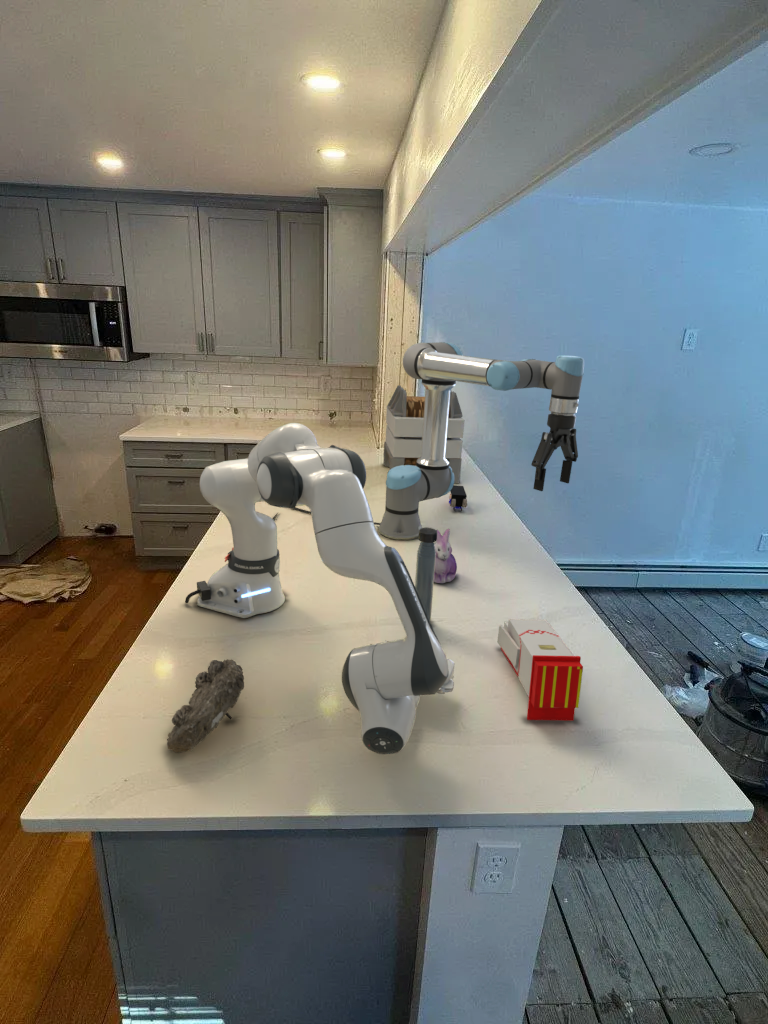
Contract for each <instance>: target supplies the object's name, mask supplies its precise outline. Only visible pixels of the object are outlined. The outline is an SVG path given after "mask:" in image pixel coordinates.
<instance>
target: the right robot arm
mask: <svg viewBox="0 0 768 1024" xmlns="http://www.w3.org/2000/svg"><path fill="white" fill-rule="evenodd" d="M402 366H403V369H404V372H405V373H406V374H407V375H408V376H409V377H410V378H412V379H415V380H421V385H422V386H423V387H424V389H425V392H424V397H425V405H424V420H423V436H422V451H421V457H420V458H419V459H417V462H416V466H413V465H401V466H396V467H394V468H392V469H390V468H389V470H388V472H387V474H386V479H385V504H384V505H385V507H384V508H385V509H384V513H383V515H382V519H381V522H375V521H374V526H375V525H376V526H378V533H379V534H380V535H381V536H382V537H385V538H387V539H389V540H395V541H410V540H415V539H419V538H418V537H419V530H420V529H421V528H423V525H422V524H421V518H420V515H419V507H420V506H419V505H420V502H423V501H428V500H432V499H437V498H439V499H440V498H441V497H443V496H446V495H448V494H450V493H451V492H450V491H451V489H452V487H453V485H455V483H454V473H452V469H451V467H450V466H449V462H448V460H447V459H446V458H445V454H446V442H447V430H448V417H449V405H450V392H451V391H452V389H453V388H454V387H455V386H456V385H457V382H460V383H465V384H472V385H479V386H485V387H491V389H493V390H495V391H503V392H505V391H510V390H520V389H532V388H533V389H534V388H537V389H545V390H549V391H550V390H551V391H550V392H551V393H550V399H549V407H548V411H549V413H548V414H547V420H546V425H547V427H549V428H550V429H549V432H547V431H543V432H542V433H541V438H540V442H539V444H538V446H537V449H536V451H535V454H534V457H533V460H532V461H531V466H532V467H534V468H535V471H534V472H535V473H534V481H533V488H532V489H533V490H536V491H539V492H544V486H545V481H546V473H547V468H546V466H547V465H548V463H549V460H550V459H551V457H552V455H553V453H554V452H555V451H556V450H557V449H558V448H560V449H561V452H562V455H563V457H564V459H562V465H561V470H560V478H559V482H561V483H564V484H570V481H571V474H572V467H573V462H574V463H576V462H577V461H578V458H579V451H578V444H577V428H575V427H576V422H577V421H576V420H577V416H576V414H577V412H578V408H579V405H580V404H579V402H580V401H579V399H580V393H581V388H582V383H583V377H584V370H585V369H584V368H585V359H584V358H583V357H582V356H577V355H576V356H575V355H558V356H556V359H555V361H548V360H541V359H536V358H534V359H533V358H524V359H521V360H502V359H494V358H486V357H478V356H469V355H464V354H463V352H462V350H461V349H460V347H459V346H458V345H456V344H455V343H451V342H445V341H443V342H442V341H441V342H440V341H439V342H438V341H437V342H417V343H414V344H412V345H411V346H408V348H407V349H406V351H405V352H404V355H403V357H402ZM293 510H297V511H299V512H303V513H307V514H310V515H311V511H310V510H306V509H302V508H300V507H297V506H296V507H295V508H294V509H293Z"/></svg>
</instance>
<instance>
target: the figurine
mask: <svg viewBox="0 0 768 1024" xmlns="http://www.w3.org/2000/svg"><path fill="white" fill-rule="evenodd" d="M436 530H437V540H436V541H435V542H434V544H435V545H434V546H435V551H436V560H435V572H434V583H435V584H436V583H437V584H445V583H450V582H452V581H453V580H454V579H455V578H456V574H457V570H458V564H457V559H456V558H455V556H454V554H453V548H452V545H451V543H450V535H451V530H450V528H446V530H445V531H444V533H443V535H442V534H441V532H440V530H438V529H436Z"/></svg>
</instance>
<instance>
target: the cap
mask: <svg viewBox="0 0 768 1024" xmlns="http://www.w3.org/2000/svg"><path fill="white" fill-rule="evenodd" d="M437 530H438V529H436V528H433V527H422V528H421V529H420V530H419V537H418V538H417V539H418V540H419V541H420V542H421V541H422V542H425V543H433V542H434V543H436V540H437Z"/></svg>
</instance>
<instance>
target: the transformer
mask: <svg viewBox="0 0 768 1024" xmlns="http://www.w3.org/2000/svg"><path fill="white" fill-rule="evenodd" d="M407 394H408V393H407V390H406V389H404V388H403V387H402V385H399V384H398V385H397V386H396V388H395V390H394V392H393V394H392V395H391V398H390V400H389V402H388V404H387V405H386V413H385V414H386V415H385V423H386V428H385V438H384V442H383V466H384V467H388V468H389V470H390V469H392V468H394V467H396V466H401V465H404V466H405V465H413V466H416V462H417V459H419V458H420V457H421V451H422V436H423V420H424V405H425V396H415V395H414V396H413V395H412V396H411V395H407ZM464 429H465V419H464V418H463V411H462V408H461V405H460V402H459V398H458V395H457V392H455V391H453V390H451V392H450V405H449V417H448V430H447V442H446V454H445V458H446V459H447V460H448V462H449V466H450V467H451V469H452V473H454V484H455V483H456V484H459V483H461V472H462V461H463V460H462V453H463V442H464V441H463V440H462V439H463V438H464V431H465V430H464Z"/></svg>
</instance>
